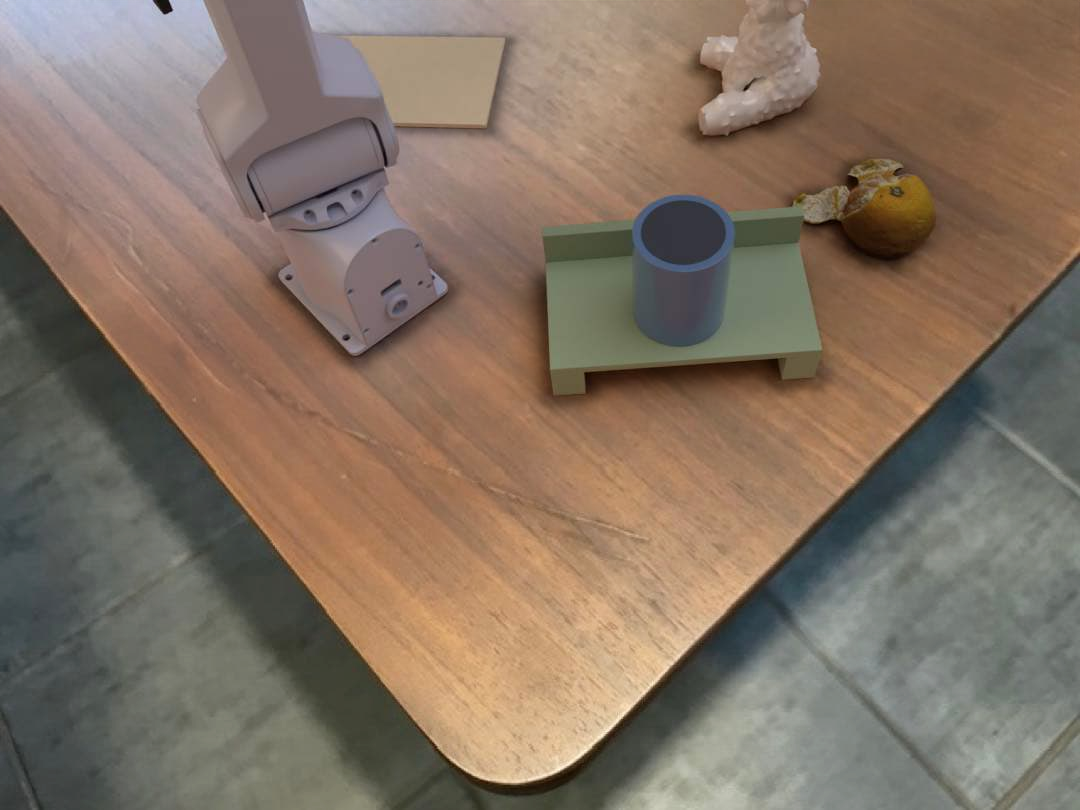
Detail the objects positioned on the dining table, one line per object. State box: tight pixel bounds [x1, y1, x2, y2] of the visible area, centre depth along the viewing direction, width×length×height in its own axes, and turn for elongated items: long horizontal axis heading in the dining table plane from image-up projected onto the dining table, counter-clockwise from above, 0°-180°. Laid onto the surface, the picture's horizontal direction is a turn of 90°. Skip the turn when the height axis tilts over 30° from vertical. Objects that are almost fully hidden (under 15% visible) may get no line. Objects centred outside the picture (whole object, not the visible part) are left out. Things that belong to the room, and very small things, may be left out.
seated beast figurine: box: [697, 0, 822, 137], centre depth 67 cm, size 10×9×12 cm
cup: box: [632, 194, 735, 347], centre depth 56 cm, size 6×6×7 cm
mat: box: [339, 35, 507, 129], centre depth 76 cm, size 18×10×1 cm, turn 83°
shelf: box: [541, 206, 823, 397], centre depth 59 cm, size 9×16×6 cm, turn 92°
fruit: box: [791, 158, 937, 259], centre depth 63 cm, size 8×8×4 cm
